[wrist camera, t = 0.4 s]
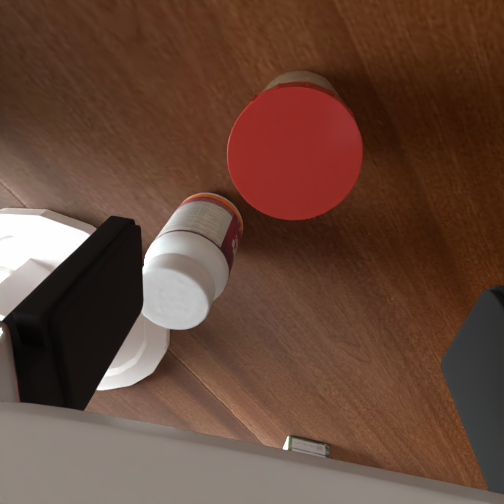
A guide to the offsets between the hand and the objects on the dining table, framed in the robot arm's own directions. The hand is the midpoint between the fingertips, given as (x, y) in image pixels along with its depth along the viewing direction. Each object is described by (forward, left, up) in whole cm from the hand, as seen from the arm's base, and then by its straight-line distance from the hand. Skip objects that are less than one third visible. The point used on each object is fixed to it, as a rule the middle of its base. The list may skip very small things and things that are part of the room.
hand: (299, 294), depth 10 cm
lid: (0, -1, -11) cm, 11 cm away
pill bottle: (+11, -5, -21) cm, 24 cm away
